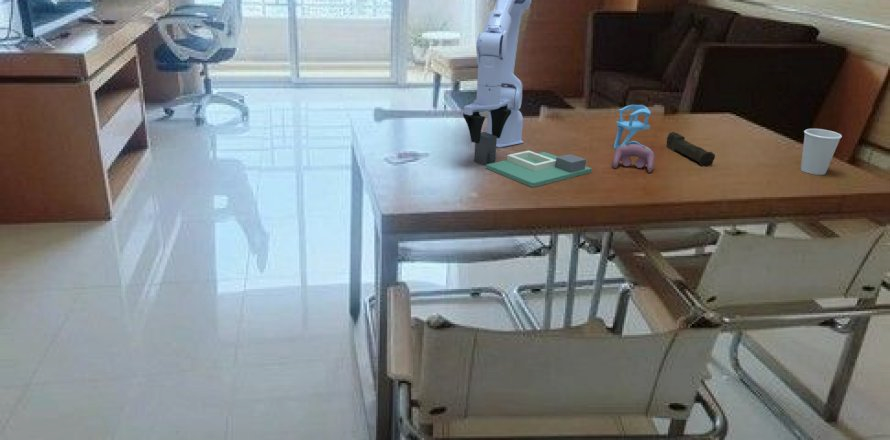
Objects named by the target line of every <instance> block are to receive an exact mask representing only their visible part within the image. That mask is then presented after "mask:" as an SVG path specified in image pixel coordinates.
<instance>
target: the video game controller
mask: <svg viewBox="0 0 890 440" xmlns="http://www.w3.org/2000/svg"><path fill="white" fill-rule="evenodd" d="M642 145H643V144H642ZM642 145H636V144H628V145H621V146H620V147H618V148H617V149H615V151H614V154H613V158H612V168H613V169H617V168H618V166H619V165H620V162H621V163H622V166H623V167H625V168H627V167H630V166H631V165H632V162H633V161H632V159H631V157H635V158H637V159H636V160H635V163H634V164H635V168H637V169H639V168H640V169H642V168H644V167H645V166H646V165H647V168H646V170H647V173H648V174H651V173H652V172H653V169H654V165H655V153H654V151H653V150H652V149H651V148H650V147H648V146H646V145H644V146H642ZM645 146H646V147H645ZM640 169H639V170H640Z"/></svg>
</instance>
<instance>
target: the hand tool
mask: <svg viewBox="0 0 890 440" xmlns="http://www.w3.org/2000/svg"><path fill="white" fill-rule="evenodd" d="M666 147H668V149H670V150H671V149H672V150H673V152H675V151H676V153H677V152H679V153H681V154H682V155H684V156H686V157H688V158H690V159H691V160H693V161H695V162H697V163H698V164H699V166H700V167H710V166H712V164H713V163H714V160H715V158H716V154H715V153H713V152H712V151H707V150H705V149H704V148H702V147H699V146H697V145H695V144H692V143H691V142H689V141H687V140H685V136H683V135H681V134H679V133H676V132H674V131H672V132H670V133H669V134H668V135H667V137H666Z"/></svg>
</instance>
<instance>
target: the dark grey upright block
mask: <svg viewBox="0 0 890 440" xmlns="http://www.w3.org/2000/svg"><path fill="white" fill-rule="evenodd" d="M496 142H497V136H495V135H492V134H489V133H487V131H486V132H485V131H483V132H482V131H481V137H480V142H479V143H474V154H473V155H474V159H473V160H474V162H475V163H479V164H481V165H484V166H486V164H491V163H495V162H496V158H497V147H496Z"/></svg>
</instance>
